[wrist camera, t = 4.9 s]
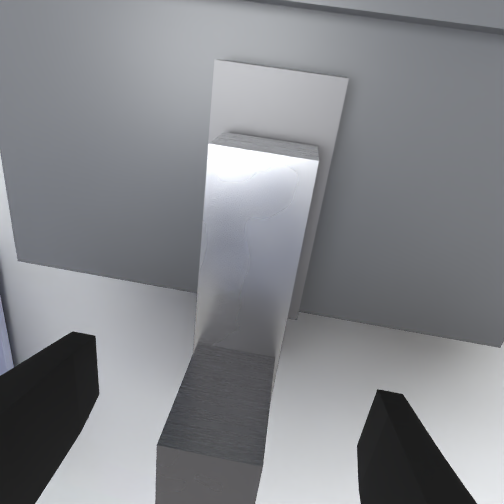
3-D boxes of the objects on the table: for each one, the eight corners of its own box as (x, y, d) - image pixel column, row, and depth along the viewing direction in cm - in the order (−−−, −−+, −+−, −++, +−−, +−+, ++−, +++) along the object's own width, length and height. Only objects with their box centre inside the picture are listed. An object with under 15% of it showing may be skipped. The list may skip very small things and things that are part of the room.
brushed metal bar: (263, 420, 13) (242, 580, 9) (198, 407, 13) (149, 559, 9) (317, 146, 9) (324, 214, 5) (223, 132, 9) (155, 185, 5)
